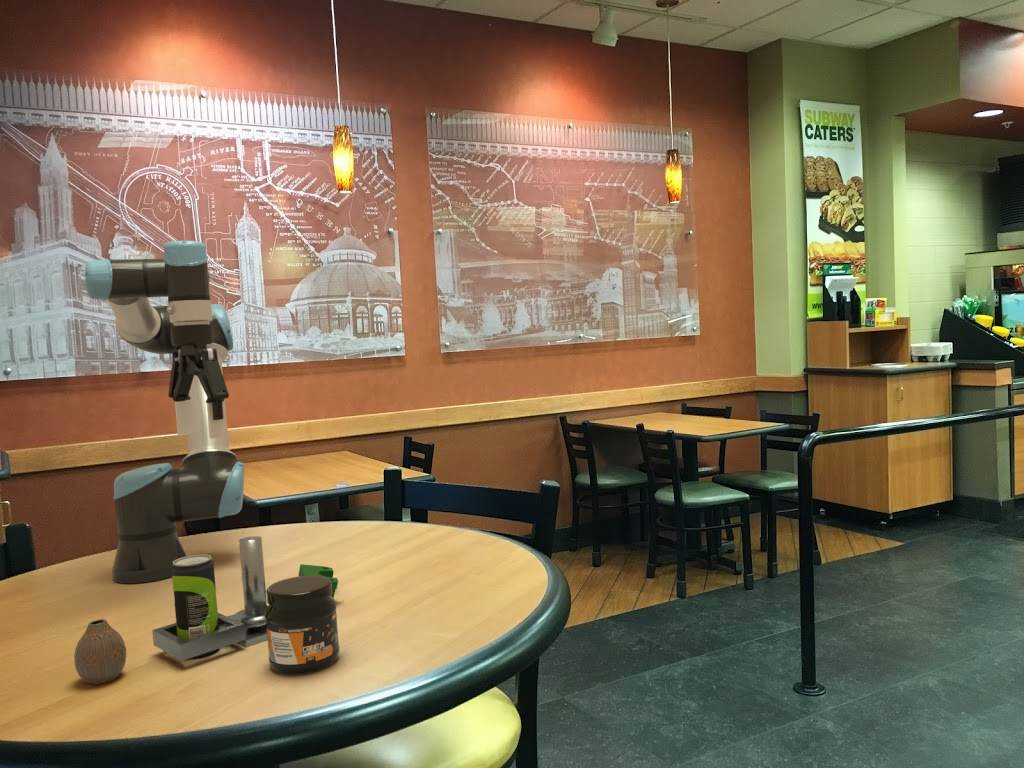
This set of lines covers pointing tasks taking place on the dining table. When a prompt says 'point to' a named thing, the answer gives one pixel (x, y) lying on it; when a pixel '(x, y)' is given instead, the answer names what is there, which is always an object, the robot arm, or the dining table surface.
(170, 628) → the frame with upright rod
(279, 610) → the supplement container
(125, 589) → the dining table surface
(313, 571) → the clamp
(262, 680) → the dining table surface
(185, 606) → the beverage can
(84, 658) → the vase
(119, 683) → the dining table surface
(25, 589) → the dining table surface
